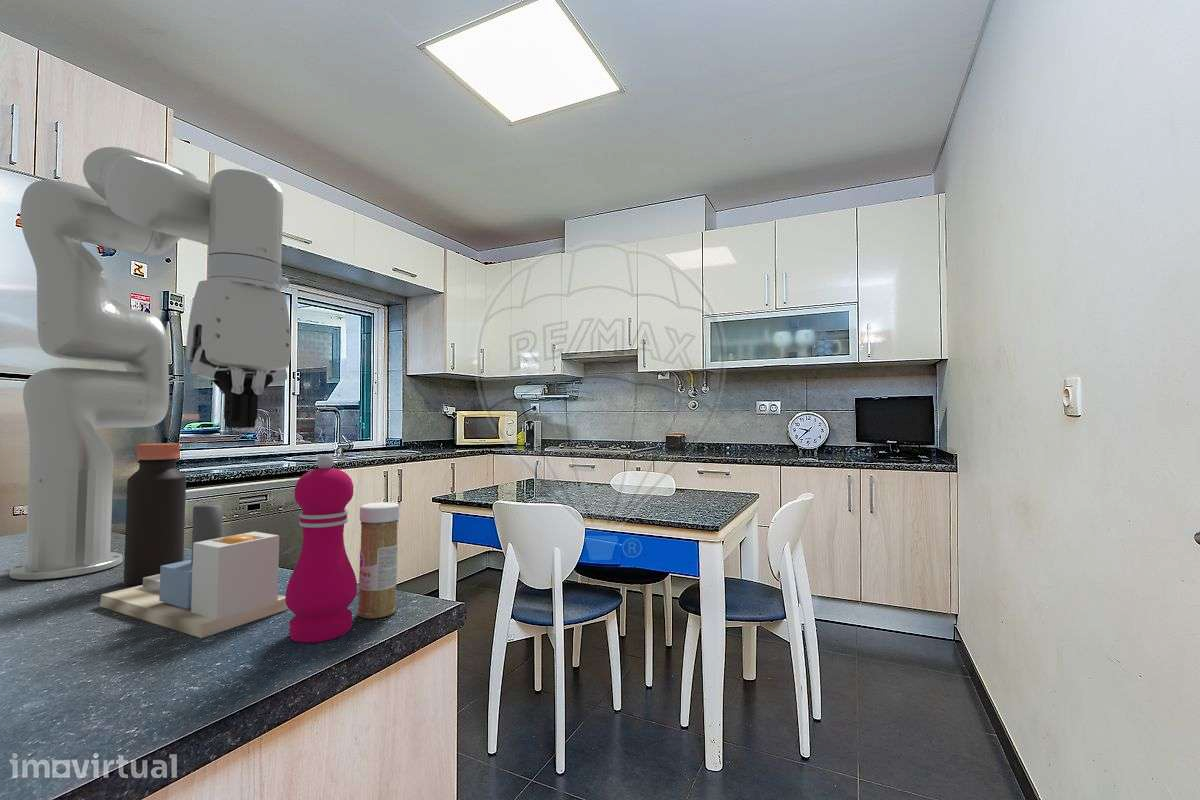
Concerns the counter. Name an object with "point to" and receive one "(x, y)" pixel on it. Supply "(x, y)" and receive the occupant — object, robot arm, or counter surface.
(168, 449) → the vinegar
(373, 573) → the sprinkles bottle
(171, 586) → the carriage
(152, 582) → the rail base
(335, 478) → the pepper mill
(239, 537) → the plunger
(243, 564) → the white box holder
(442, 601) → the counter surface
